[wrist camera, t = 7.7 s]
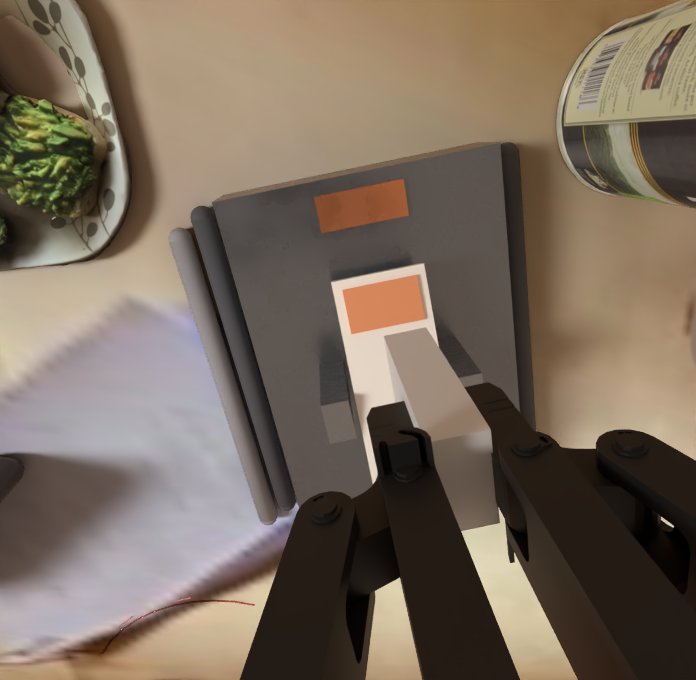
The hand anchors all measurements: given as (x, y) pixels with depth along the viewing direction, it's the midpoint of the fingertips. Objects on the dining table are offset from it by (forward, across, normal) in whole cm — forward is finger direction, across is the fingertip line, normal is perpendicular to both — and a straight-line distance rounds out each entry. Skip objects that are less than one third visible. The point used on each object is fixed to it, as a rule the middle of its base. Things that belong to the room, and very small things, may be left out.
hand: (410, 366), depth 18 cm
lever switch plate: (+17, 0, -6) cm, 18 cm away
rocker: (+9, 0, -6) cm, 11 cm away
